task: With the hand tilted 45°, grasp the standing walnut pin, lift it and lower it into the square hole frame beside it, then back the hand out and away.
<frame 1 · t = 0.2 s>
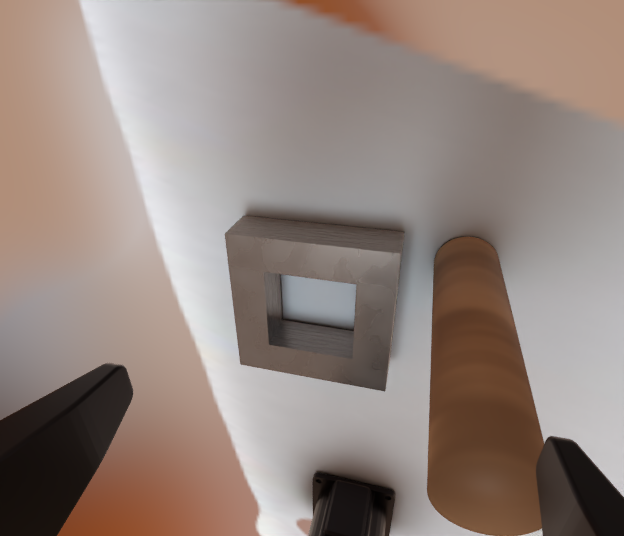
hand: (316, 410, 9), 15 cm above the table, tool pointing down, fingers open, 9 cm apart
walnut pin: (465, 264, 22), on the table
square hole frame: (320, 292, 25), on the table
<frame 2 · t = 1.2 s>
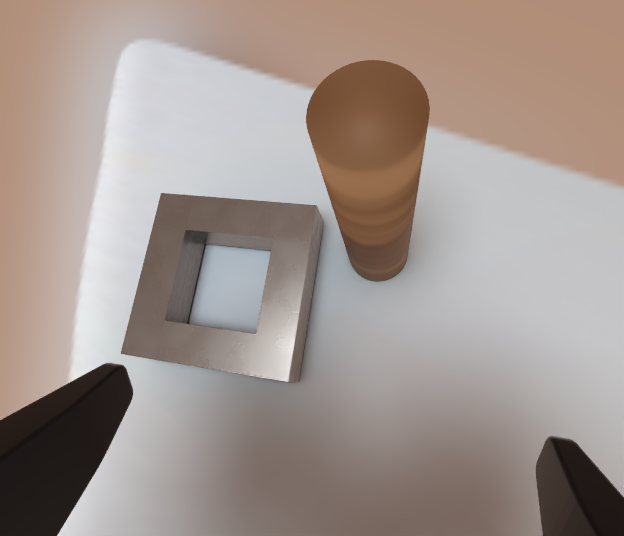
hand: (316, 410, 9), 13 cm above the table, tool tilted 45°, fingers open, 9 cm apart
walnut pin: (377, 252, 23), on the table
square hole frame: (235, 289, 24), on the table
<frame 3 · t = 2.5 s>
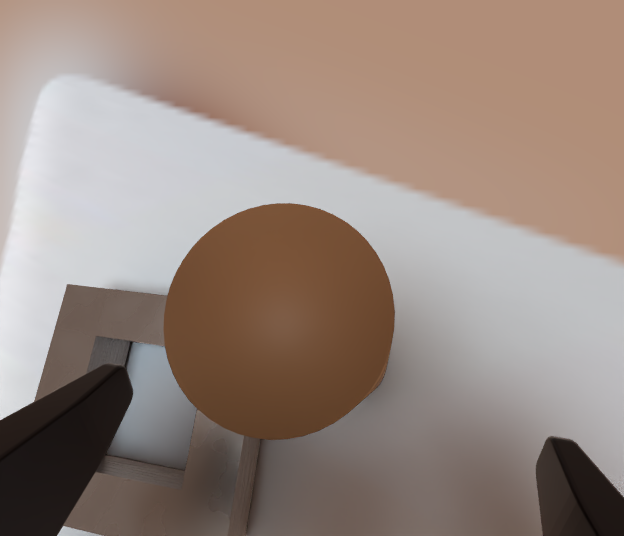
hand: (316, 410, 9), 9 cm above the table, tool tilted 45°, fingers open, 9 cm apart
walnut pin: (348, 360, 18), on the table
square hole frame: (167, 404, 19), on the table
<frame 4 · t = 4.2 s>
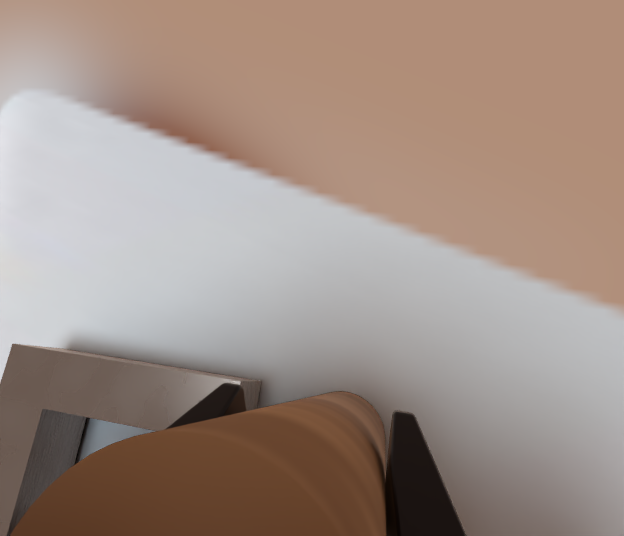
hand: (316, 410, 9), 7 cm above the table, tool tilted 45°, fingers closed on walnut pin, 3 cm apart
walnut pin: (340, 437, 15), on the table, touching gripper
square hole frame: (129, 482, 16), on the table
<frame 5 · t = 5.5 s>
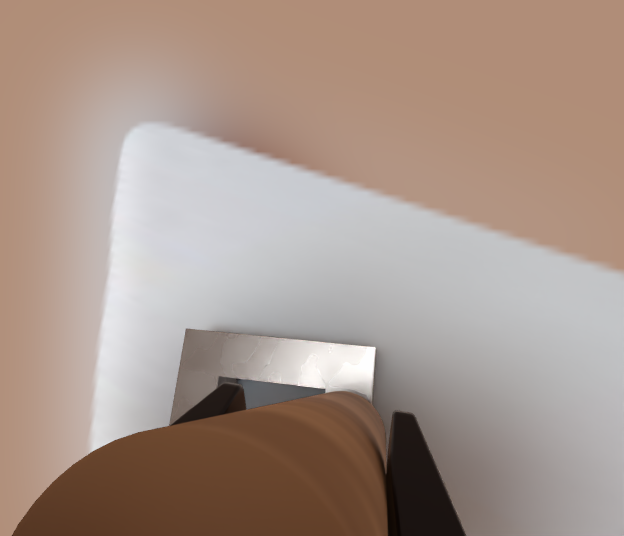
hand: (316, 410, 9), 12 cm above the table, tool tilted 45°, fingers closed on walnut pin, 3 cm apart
walnut pin: (341, 436, 15), point 5 cm above the table, touching gripper
square hole frame: (277, 433, 21), on the table
when the fingers open (7 cm above the table, at t = 7.2 s): walnut pin stays where it is, resting in square hole frame.
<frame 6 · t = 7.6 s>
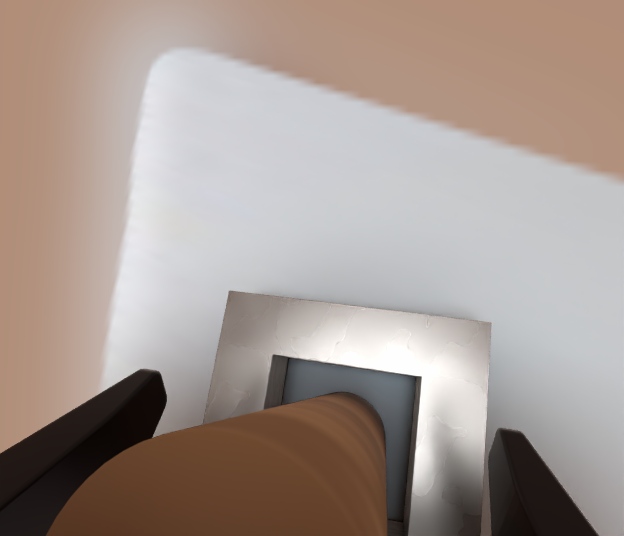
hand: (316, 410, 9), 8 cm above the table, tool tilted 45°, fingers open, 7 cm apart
walnut pin: (342, 436, 16), resting in square hole frame
square hole frame: (341, 434, 16), on the table
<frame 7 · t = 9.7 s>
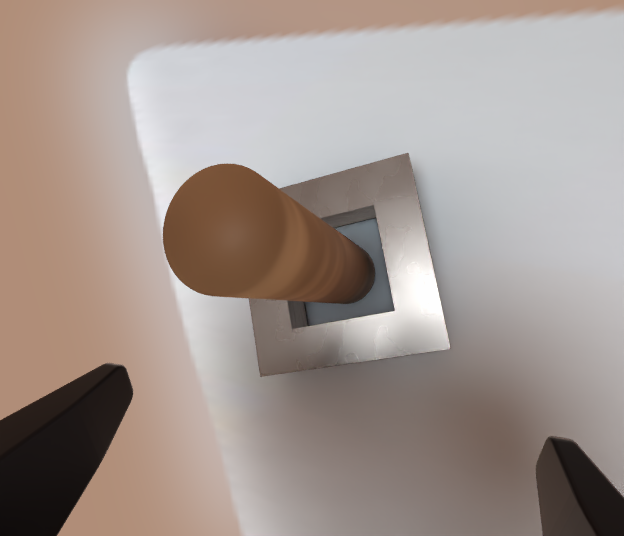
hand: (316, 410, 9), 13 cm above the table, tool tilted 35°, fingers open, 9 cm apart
walnut pin: (344, 273, 22), resting in square hole frame
square hole frame: (344, 272, 22), on the table
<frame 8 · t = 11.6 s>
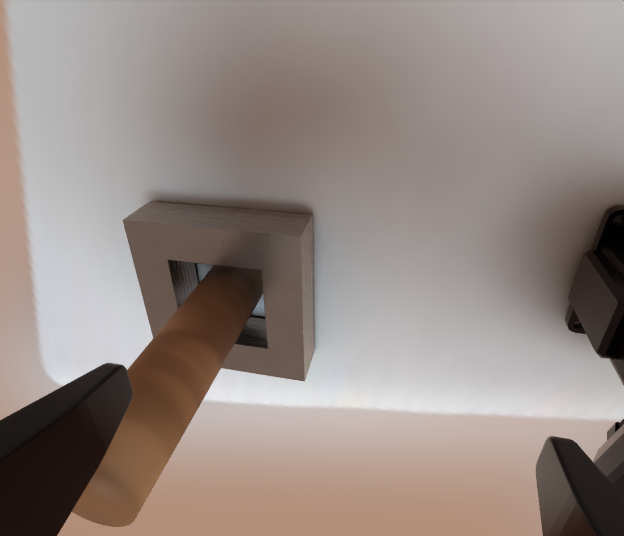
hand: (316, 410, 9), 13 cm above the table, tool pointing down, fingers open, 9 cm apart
walnut pin: (238, 280, 24), resting in square hole frame
square hole frame: (237, 280, 24), on the table
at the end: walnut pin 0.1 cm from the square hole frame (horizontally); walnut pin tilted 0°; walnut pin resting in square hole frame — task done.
